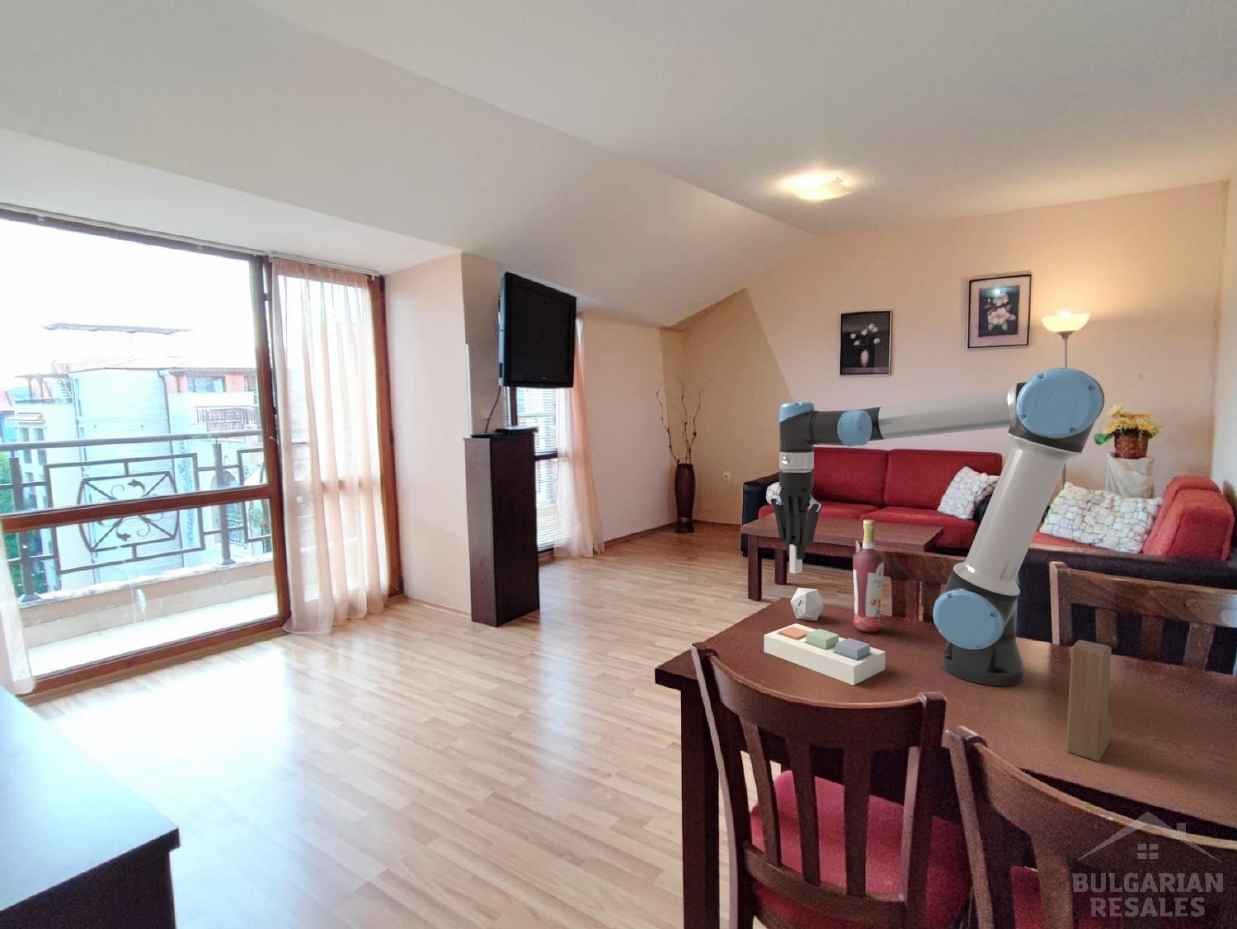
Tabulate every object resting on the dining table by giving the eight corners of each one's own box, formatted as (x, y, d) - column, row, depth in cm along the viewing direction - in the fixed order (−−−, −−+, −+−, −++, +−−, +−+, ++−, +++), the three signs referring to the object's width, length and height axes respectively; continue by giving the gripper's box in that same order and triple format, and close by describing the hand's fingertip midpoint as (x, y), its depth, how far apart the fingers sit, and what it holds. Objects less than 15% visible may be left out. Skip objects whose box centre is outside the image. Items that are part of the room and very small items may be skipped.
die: (785, 615, 174) (782, 594, 168) (807, 596, 176) (805, 575, 170) (809, 633, 168) (807, 612, 162) (831, 613, 171) (829, 592, 164)
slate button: (869, 658, 135) (870, 644, 135) (856, 664, 132) (857, 650, 132) (848, 651, 139) (848, 638, 139) (835, 657, 136) (835, 643, 136)
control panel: (884, 669, 136) (885, 651, 136) (853, 685, 129) (853, 666, 129) (795, 639, 154) (796, 623, 154) (764, 651, 147) (764, 635, 147)
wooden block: (1078, 732, 110) (1084, 631, 108) (1111, 742, 106) (1117, 638, 105) (1065, 752, 104) (1071, 645, 102) (1099, 763, 100) (1105, 653, 98)
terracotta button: (809, 644, 147) (810, 632, 147) (796, 650, 144) (796, 637, 144) (792, 638, 151) (792, 626, 151) (778, 643, 148) (778, 631, 148)
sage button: (838, 647, 141) (838, 634, 141) (825, 653, 138) (825, 640, 138) (819, 641, 145) (819, 628, 145) (806, 646, 142) (806, 633, 142)
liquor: (874, 637, 155) (876, 524, 152) (846, 629, 160) (848, 520, 158) (887, 629, 160) (890, 520, 157) (859, 622, 165) (862, 516, 162)
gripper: (762, 469, 146) (762, 569, 148) (810, 473, 136) (810, 580, 138) (783, 467, 151) (782, 564, 153) (831, 471, 141) (830, 574, 143)
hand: (795, 572), depth 146 cm, fingers closed
